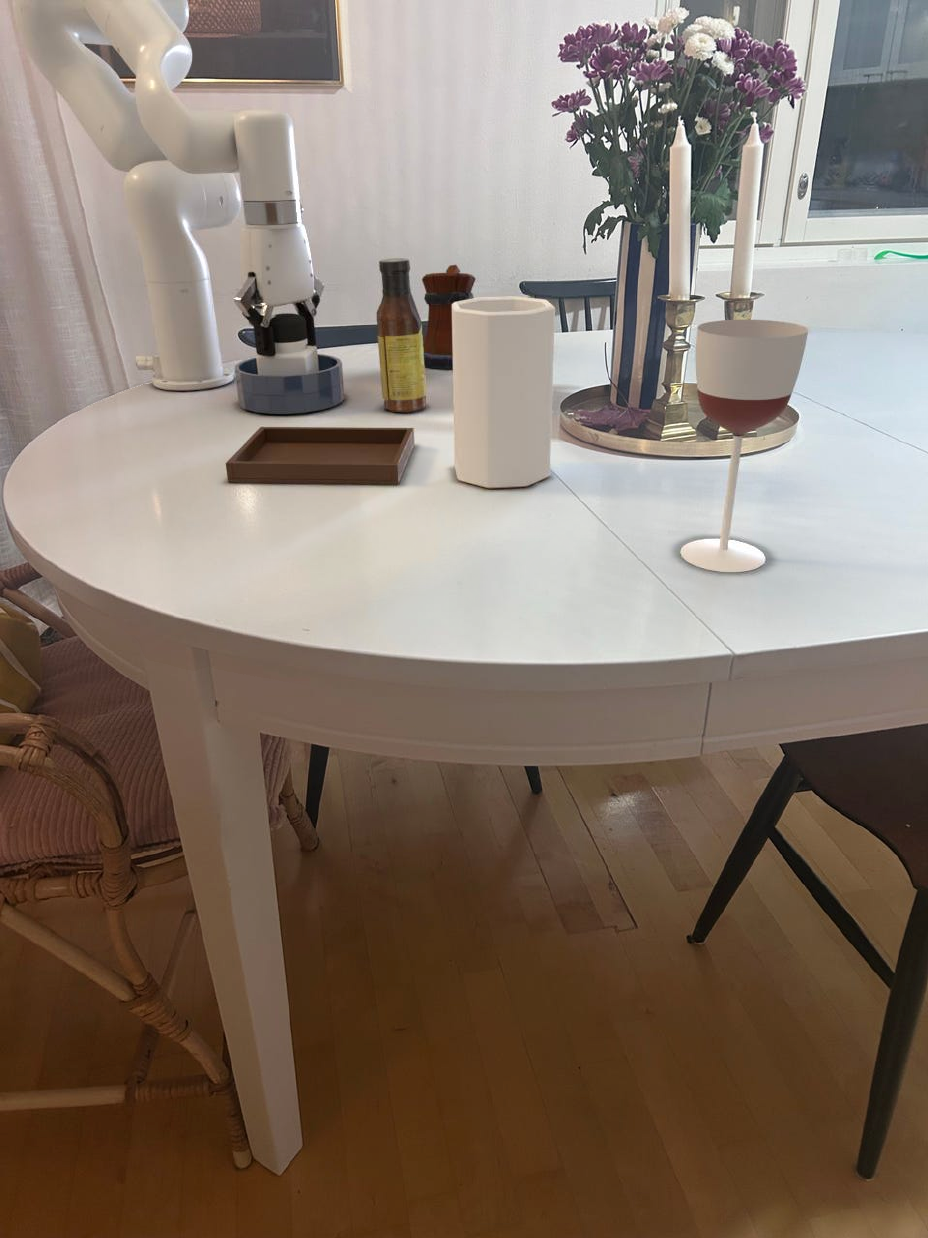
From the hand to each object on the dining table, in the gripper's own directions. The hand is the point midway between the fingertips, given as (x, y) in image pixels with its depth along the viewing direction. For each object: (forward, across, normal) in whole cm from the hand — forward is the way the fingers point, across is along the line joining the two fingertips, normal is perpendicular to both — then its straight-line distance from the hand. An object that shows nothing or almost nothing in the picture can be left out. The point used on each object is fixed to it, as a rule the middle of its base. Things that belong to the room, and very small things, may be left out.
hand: (286, 349), depth 129 cm
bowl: (+8, 0, 0) cm, 8 cm away
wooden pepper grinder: (+8, -36, +3) cm, 37 cm away
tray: (+8, +19, +24) cm, 31 cm away
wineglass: (+8, +19, +72) cm, 75 cm away
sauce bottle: (+8, -6, +16) cm, 19 cm away
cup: (+8, +11, +43) cm, 45 cm away
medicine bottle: (+7, 0, 0) cm, 7 cm away
